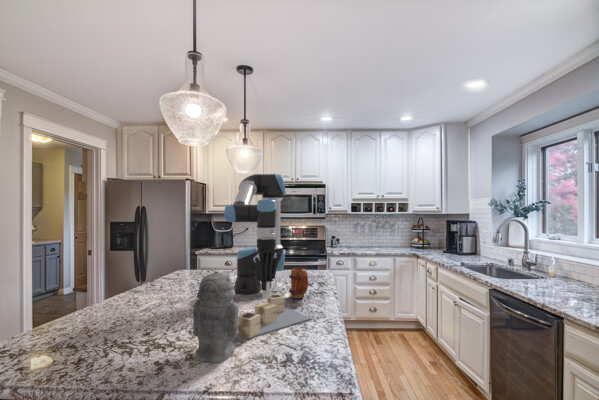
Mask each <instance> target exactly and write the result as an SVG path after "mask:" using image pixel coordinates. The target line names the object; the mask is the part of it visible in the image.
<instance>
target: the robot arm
mask: <svg viewBox="0 0 599 400" xmlns="http://www.w3.org/2000/svg"><path fill="white" fill-rule="evenodd" d="M285 185H286V184H285V179H284V175H282V174H277V173H255V174H251V175H249V176H247V177H245V178H244V179H243V180H241V182H240V183H239V185H238V191H237V195H236V197H235V199H234V202H233V204H226V205H225V207H224V213H223V215H224V220H225V222H228V223H256V237H257V239H256V246H255V247H248V248H241V249H239V250H238V251H237V257H236V279H235V281H234V283H233V287H234V290H235V294H239V295H251V294H257V293H260V292H261V291H262V293H261V294H262V295H261V297H262V299H265V300H267V299H269V298H270V295H271V288H272V282H273V281H274V279H275V278H276V275H277V274H276V273H277V272H281V271H283V269H284V268H285V267H284V265H285V259H286V249H284V246H283V245H282V244H281V202H282V200H284V196H286V195H287V194H286V193H287V192H286V186H285ZM254 196H262V197H261V199H258V200H257V204H251V203H252V200H253V197H254Z"/></svg>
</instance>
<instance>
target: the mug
mask: <svg viewBox="0 0 599 400" xmlns="http://www.w3.org/2000/svg"><path fill="white" fill-rule="evenodd" d="M290 272H291V273H290V275H288V277H289V278H290V289H288V292H289V294H290V297H291V298H293V299H303V298H305V294H306V293H307V290H308V287H309V278H308V277H309V275H308V272H307V270H305V269H303V268H300V267H299V268H296V267H295V268H292V269H291V270H290Z"/></svg>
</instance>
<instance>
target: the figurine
mask: <svg viewBox="0 0 599 400" xmlns="http://www.w3.org/2000/svg"><path fill="white" fill-rule="evenodd" d="M198 286H199V287H198V292H197V294H196V298H197V300H196V301H195V302H194V303H193V311H192V312H193V313H192V314H193V316H192V317H193V321H192V328H193V329H192V334H193V335H194V336H195V337H196V338H197V340H198V348H196V350H195V352H194V354H195V355H194V356H195V359H196V360H197V361H199V362H206V363H214V364H215V363H221V362H224V361H226V360H228V359H229V358H230V357H231V356H232V354H234V353H235V345H234V344H233V341H235V340H236V339H235V338H236V337H237V335H238V333H239V331H238V316H239V312H240V311H239V310H240V307H239V304H238V303H237V302H235V301H234V300H233V297H234V296H236V293H235V290H234V283H233V280H232V278H231V277H230V276H229V275H228V274H226V273H223V272H222V273H221V272H219V271H217V270H215V271H214V272H213V273H210V274H207V275H205V276H203V277H202V279H201V281H200V283H199V285H198Z"/></svg>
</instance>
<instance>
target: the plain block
mask: <svg viewBox="0 0 599 400" xmlns="http://www.w3.org/2000/svg"><path fill="white" fill-rule="evenodd" d="M254 313H255V314H260V323H261V324H264V325H267V324H269V323H272V322H275V321H277V305H274V304H271V303H268V302H267V301H266V302H263V303H259V304H256V305H254Z"/></svg>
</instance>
